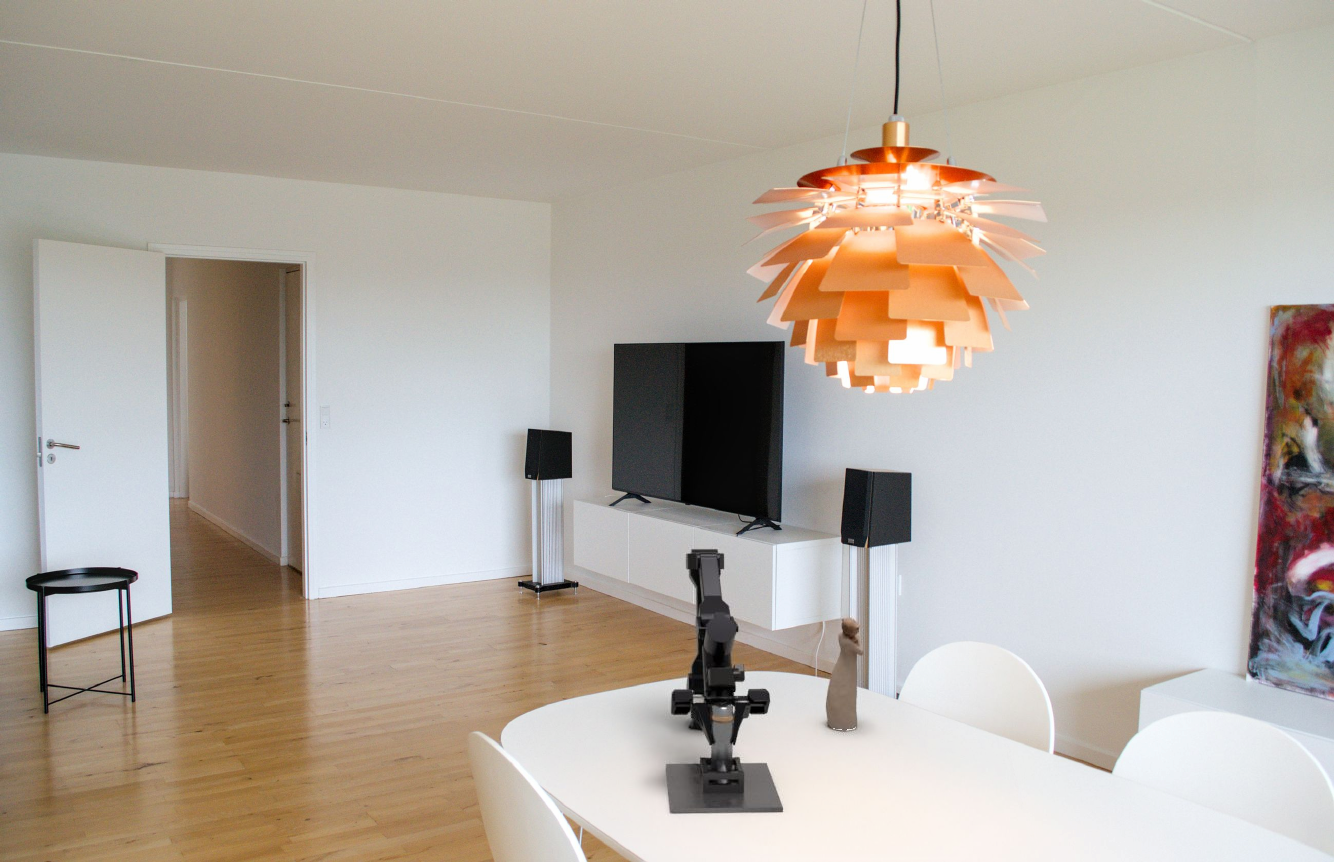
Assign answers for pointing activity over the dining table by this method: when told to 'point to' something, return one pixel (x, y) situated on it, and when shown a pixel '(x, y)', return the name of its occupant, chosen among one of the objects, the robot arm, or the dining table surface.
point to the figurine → (844, 679)
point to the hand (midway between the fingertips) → (722, 744)
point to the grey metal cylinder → (722, 738)
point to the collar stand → (721, 788)
